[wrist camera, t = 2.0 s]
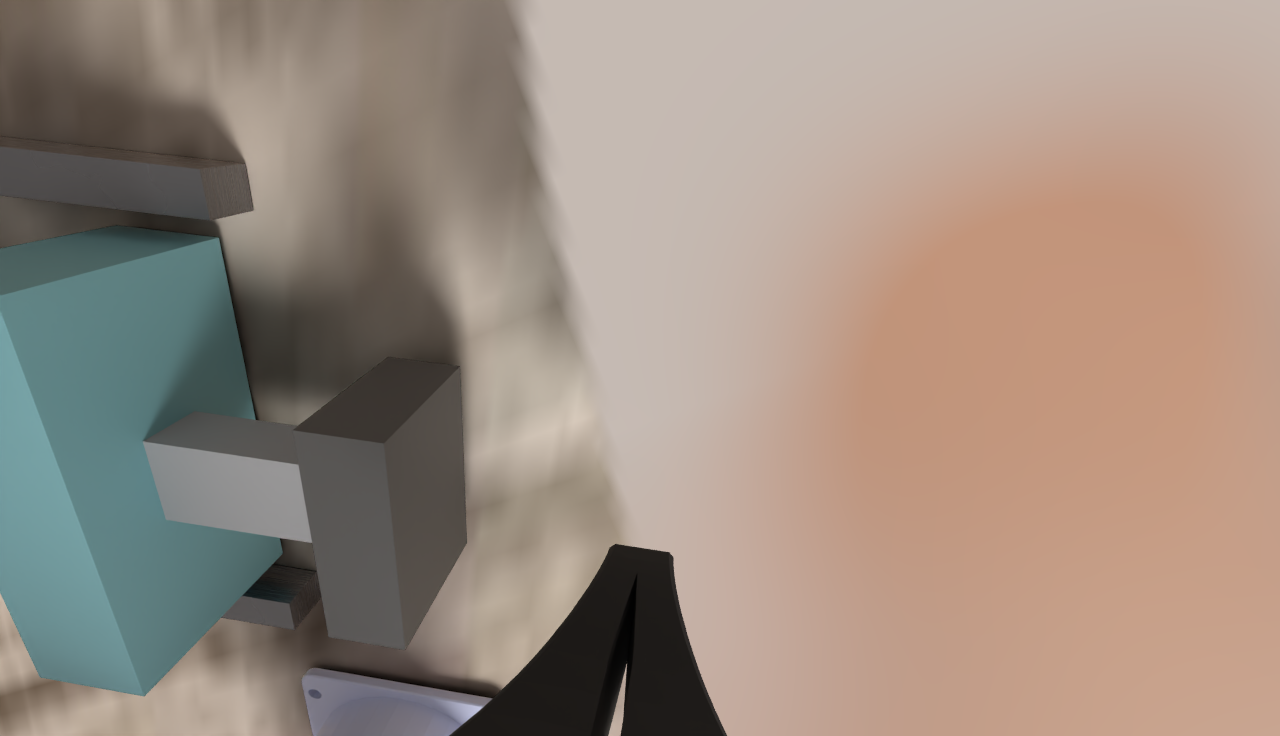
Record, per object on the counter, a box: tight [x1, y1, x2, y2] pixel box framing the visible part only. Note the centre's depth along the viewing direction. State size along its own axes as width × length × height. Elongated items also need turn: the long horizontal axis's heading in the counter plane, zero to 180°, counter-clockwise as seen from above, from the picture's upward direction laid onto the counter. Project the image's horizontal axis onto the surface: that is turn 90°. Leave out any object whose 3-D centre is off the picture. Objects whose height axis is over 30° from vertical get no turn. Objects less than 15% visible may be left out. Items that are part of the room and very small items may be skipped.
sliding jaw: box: [0, 225, 467, 696], centre depth 16 cm, size 11×10×6 cm
